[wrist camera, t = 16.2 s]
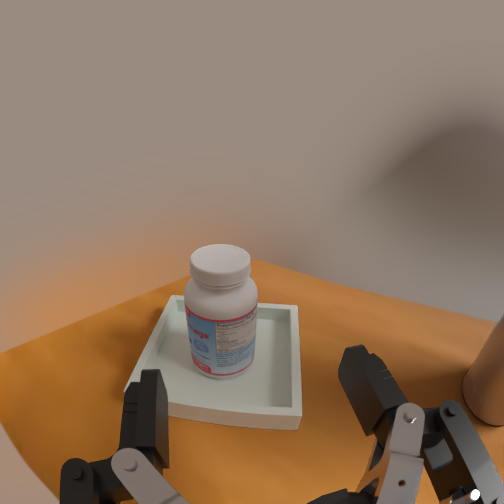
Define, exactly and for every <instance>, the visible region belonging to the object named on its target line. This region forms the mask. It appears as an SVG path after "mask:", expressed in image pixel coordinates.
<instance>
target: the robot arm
mask: <svg viewBox="0 0 504 504" xmlns="http://www.w3.org/2000/svg"><path fill="white" fill-rule="evenodd" d="M338 376H339V380H340V383H341V385H342V387H343V389H344V391H345V393H346V395H347V397H348V399H349V401H350V403H351V405H352V407H353V409H354V412H355V414H356V416H357V418H358V420H359V422H360V424H361V426H362V428H363V431H364V433H365V435H366V436H369V435H372V434H375V436H376V439H375V442H374V445H373V449H372V452H371V455H370V458H369V462H368V465H367V468H366V471H365V473H364V475H363V477H362V479H361V480H360V482H359V484H358V486H357V489H356V491H355V492H348V491H347V489H346V488H345V489H342V490H339V491H336V492H333V493H329V494H326V495H322V496H321V497H319V498H317V499H315V500H313V501H311V502H309V503H307V504H415V500H416V496H417V492H418V488H419V483H420V479H421V474H422V469H423V464H424V466H425V469H426V471H427V473H428V476H429V478H430V480H431V483H432V485H433V487H434V490H435V492H436V494H437V497H438V499H439V502H440V503H439V504H504V484H503V481H502V479H501V477H500V475H499V473H498V471H497V469H496V467H495V465H494V463H493V461H492V459H491V457H490V455H489V453H488V451H487V450H486V448H485V446H484V444H483V442H482V440H481V438H480V437H479V435H478V433H477V431H476V429H475V428H474V426H473V424H472V423H471V421H470V419H469V417H468V416H467V414H466V412H465V411H464V409H463V407H462V406H461V405H460V403H458V402H457V401H455V400H446V401H444V402H443V403H442V404H441V405H440V406H439V407H437V408H426V409H422V408H421V407H419V406H418V405H416V404H414V403H409V402H408V401H407V399H406V398H405V396H404V394H403V393H402V391H401V389H400V388H399V386H398V385H397V383H396V381H395V380H394V378H393V377H392V375H391V373H390V372H389V370H387V367H386V365H385V364H384V362H383V361H382V360H381V359H380V358H379V357H378V356H376V355H375V354H374V353H372V354H369V353H368V351H367V349H366V348H365V346H363V345H357V346H352V347H348V348H346V349H345V351H344V354H343V357H342V360H341V363H340V366H339V369H338ZM462 389H463V395H464V398H465V401H466V403H467V405H468V407H469V408H470V410H471V411H472V412H473V413H474V414H475V415H476V416H477V417H478V418H479V419H480V420H482V421H484V422H485V423H488V424H491V425H497V426H499V425H504V309H503V311H502V313H501V315H500V317H499V319H498V321H497V323H496V325H495V327H494V328H493V330H492V332H491V334H490V336H489V338H488V339H487V341H486V343H485V345H484V346H483V348H482V350H481V351H480V353H479V355H478V356H477V358H476V360H475V361H474V363H473V364H472V366H471V367H470V369H469V370H468V372H467V373H466V375H465V377H464V380H463V385H462ZM444 439H445V440H444ZM445 441H446V442H445ZM446 443H447V444H446ZM447 445H448V446H447ZM448 447H449V448H448ZM449 449H450V450H449ZM450 451H451V452H450ZM451 453H452V454H451ZM163 468H169V442H168V395H167V390H166V387H165V384H164V381H163V377H162V374H161V371H160V369H142V371H141V376H140V382H131V383H130V384H129V386H128V388H127V389H126V391H125V396H124V405H123V413H122V422H121V432H120V443H119V448H118V450H117V451H116V453H115V454H114V455H113V456H111V457H110V458H108V459H105V460H100V461H95V462H90V463H87V462H86V461H84V460H82V459H79V458H73V459H69V460H68V461H66V462H65V463H64V464H63V466H62V469H61V480H60V504H120V501H125V500H130V499H135V500H136V501H137V502H138V503H139V504H190V503H189V502H188V501H186V500H185V499H184V498H183V497H182V496H181V495H180V494H179V493H178V492H177V491H176V490H175V489H174V488H173V487H172V486H171V485H170V484H169V483H168V482H167V481H166V480H165V479H164V478H163Z"/></svg>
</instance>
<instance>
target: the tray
mask: <svg viewBox="0 0 504 504" xmlns="http://www.w3.org/2000/svg"><path fill="white" fill-rule="evenodd" d="M142 369H160V371H161V374H162V377H163V381H164V384H165V387H166V390H167V395H168V416H172V417H177V418H182V419H187V420H193V421H199V422H206V423H213V424H220V425H228V426H237V427H247V428H260V429H276V430H298V427H299V424H300V421H301V418H302V388H301V363H300V343H299V325H298V309H297V305H281V304H267V303H258V304H257V321H256V338H255V354H254V360H253V363H252V365H251V366H250V367H249V369H248V370H246V371H245V372H244V373H242V374H240V375H238V376H235V377H232V378H227V379H216V378H212V377H209V376H206V375H204V374H203V373H201V372H200V371H199V370H198V369H197V368H196V367H195V365H194V363H193V361H192V356H191V350H190V342H189V335H188V327H187V319H186V311H185V302H184V296H179V295H172V296H171V298H170V299H169V301H168V303H167V305H166V307H165V309H164V311H163V313H162V315H161V316H160V318H159V320H158V322H157V324H156V326H155V328H154V330H153V332H152V334H151V336H150V338H149V340H148V342H147V344H146V346H145V348H144V350H143V352H142V354H141V356H140V358H139V360H138V362H137V364H136V366H135V368H134V370H133V372H132V374H131V376H130V378H129V381H128V383H127V385H126V387H125V389H124V394H125V391H126V389H127V388H128V386H129V384H130V383H131V382H140V376H141V371H142Z"/></svg>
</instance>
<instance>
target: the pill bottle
mask: <svg viewBox="0 0 504 504" xmlns="http://www.w3.org/2000/svg"><path fill="white" fill-rule="evenodd" d="M250 261H251V260H250V256H249V254H248V253H247V252H246V251H245V250H243V249H242V248H239V247H236V246H232V245H226V244H215V245H209V246H205V247H202V248H200V249H197V250H196V251H195V252H193V254H192V255H191V257H190V267H191V268H190V273H191V275H192V278H191V279H190V280H189V281H188V283H187V284H186V287H185V290H184V302H185V311H186V319H187V327H188V335H189V342H190V350H191V356H192V361H193V363H194V365H195V367H196V368H197V369H198V370H199V371H200V372H201V373H203V374H204V375H206V376H209V377H212V378H216V379H227V378H232V377H235V376H238V375H240V374H242V373H244V372H245V371H246V370H248V369H249V367H250V366H251V365H252V363H253V360H254V354H255V338H256V321H257V304H258V291H257V287H256V284H255V283H254V281H253V280H252V279H251V278H250V277H249V275H250V272H251V268H250Z"/></svg>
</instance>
